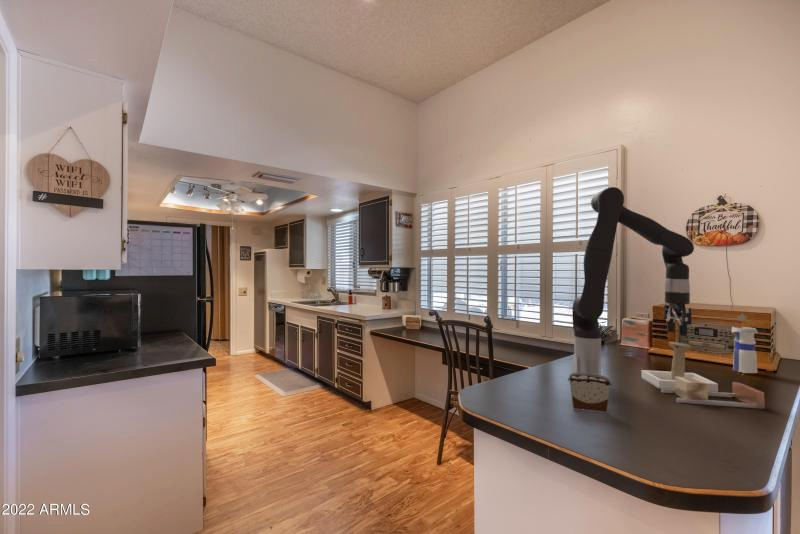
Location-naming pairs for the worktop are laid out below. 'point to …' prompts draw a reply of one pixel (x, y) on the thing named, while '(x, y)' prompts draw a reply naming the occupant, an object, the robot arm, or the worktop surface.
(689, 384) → the block
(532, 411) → the worktop surface
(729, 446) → the worktop surface
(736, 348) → the water bottle
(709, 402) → the track
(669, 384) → the tray
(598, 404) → the food container
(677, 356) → the handle
